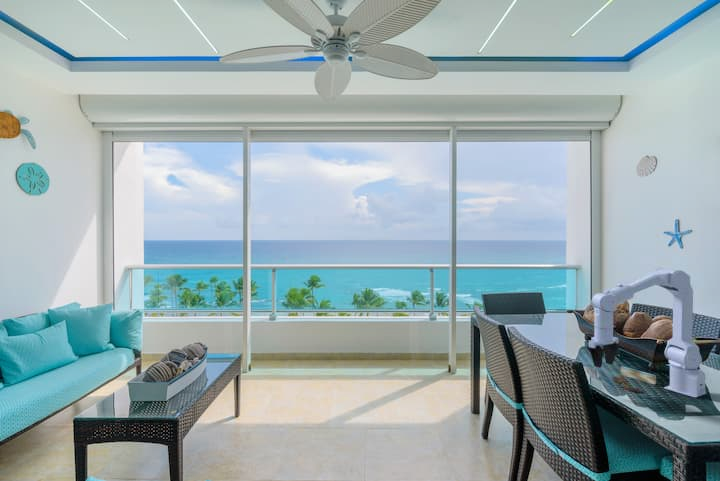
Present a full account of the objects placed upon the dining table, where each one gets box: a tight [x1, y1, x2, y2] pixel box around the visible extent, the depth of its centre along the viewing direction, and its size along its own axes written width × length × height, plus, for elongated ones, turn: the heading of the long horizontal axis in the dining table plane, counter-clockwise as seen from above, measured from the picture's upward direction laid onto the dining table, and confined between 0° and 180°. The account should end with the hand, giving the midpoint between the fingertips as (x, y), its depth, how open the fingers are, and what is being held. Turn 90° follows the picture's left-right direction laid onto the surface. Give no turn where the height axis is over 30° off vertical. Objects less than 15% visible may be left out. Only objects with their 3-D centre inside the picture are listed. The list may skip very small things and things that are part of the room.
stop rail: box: [620, 365, 657, 385], centre depth 153 cm, size 12×1×3 cm, turn 28°
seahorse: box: [612, 375, 645, 394], centre depth 147 cm, size 6×15×2 cm, turn 173°
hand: (603, 365), depth 141 cm, fingers open, 6 cm apart
